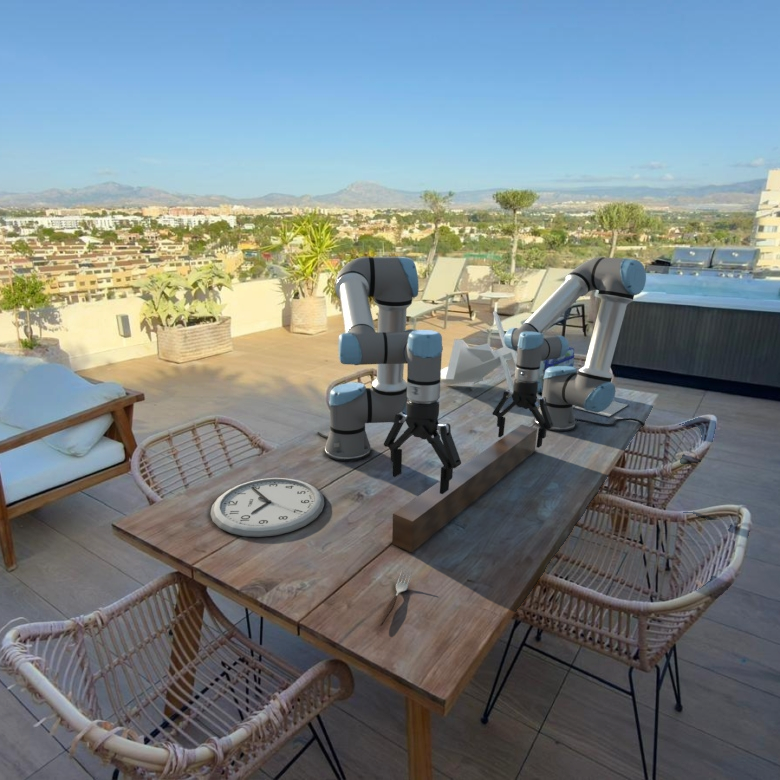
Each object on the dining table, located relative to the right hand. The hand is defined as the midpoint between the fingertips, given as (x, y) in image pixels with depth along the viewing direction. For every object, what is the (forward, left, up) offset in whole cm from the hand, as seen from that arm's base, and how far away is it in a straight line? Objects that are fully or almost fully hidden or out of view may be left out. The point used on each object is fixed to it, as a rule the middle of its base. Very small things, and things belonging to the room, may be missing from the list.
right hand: (519, 441), depth 175 cm
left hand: (+30, +53, +9) cm, 62 cm away
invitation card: (-42, -57, -5) cm, 71 cm away
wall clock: (+71, +45, -5) cm, 84 cm away
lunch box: (-24, -78, -5) cm, 82 cm away
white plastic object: (+10, -69, -5) cm, 70 cm away
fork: (+33, +78, -5) cm, 85 cm away
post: (+15, +26, -5) cm, 31 cm away
